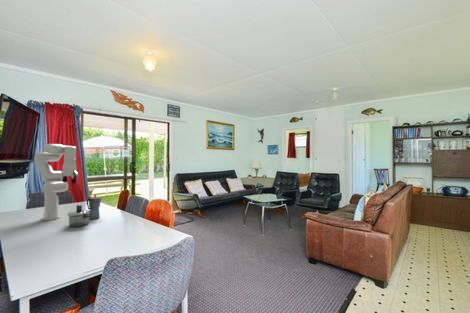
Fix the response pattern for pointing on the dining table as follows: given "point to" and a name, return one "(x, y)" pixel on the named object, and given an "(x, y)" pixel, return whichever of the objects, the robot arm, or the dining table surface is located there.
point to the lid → (78, 211)
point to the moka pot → (94, 206)
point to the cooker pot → (79, 220)
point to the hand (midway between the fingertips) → (69, 182)
